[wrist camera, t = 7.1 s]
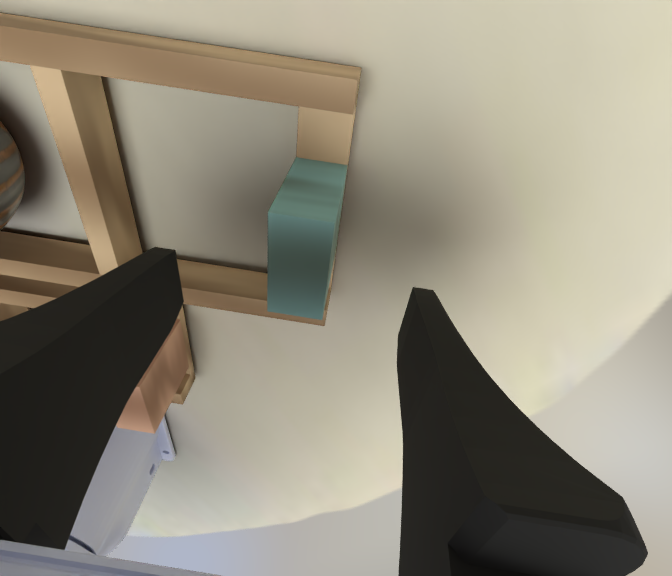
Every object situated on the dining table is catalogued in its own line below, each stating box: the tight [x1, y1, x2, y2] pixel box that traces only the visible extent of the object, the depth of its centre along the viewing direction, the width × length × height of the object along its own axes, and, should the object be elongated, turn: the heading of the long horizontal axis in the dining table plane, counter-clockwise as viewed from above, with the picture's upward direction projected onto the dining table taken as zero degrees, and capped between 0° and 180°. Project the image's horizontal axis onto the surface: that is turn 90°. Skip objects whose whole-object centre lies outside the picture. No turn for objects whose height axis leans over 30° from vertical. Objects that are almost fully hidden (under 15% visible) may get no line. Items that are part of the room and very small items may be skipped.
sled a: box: [0, 13, 361, 326], centre depth 15 cm, size 10×20×5 cm, turn 83°
